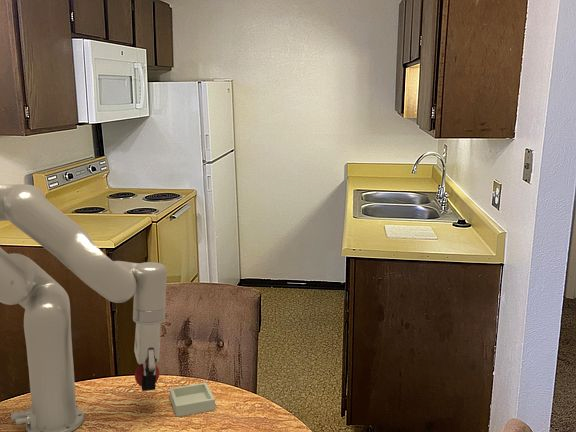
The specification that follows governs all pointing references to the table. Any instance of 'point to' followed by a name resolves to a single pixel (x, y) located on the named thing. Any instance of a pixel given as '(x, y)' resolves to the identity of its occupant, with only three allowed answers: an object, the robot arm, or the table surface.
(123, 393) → the table surface
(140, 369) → the onion
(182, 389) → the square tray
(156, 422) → the table surface
